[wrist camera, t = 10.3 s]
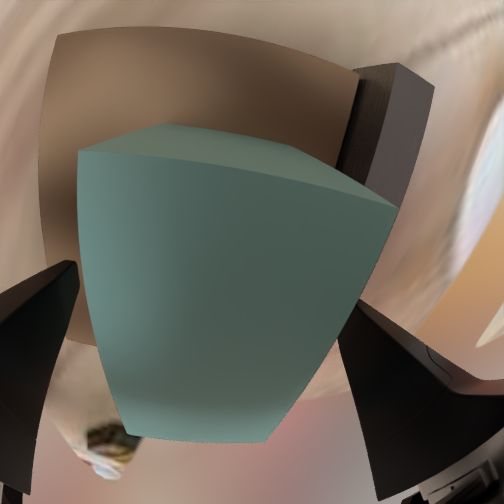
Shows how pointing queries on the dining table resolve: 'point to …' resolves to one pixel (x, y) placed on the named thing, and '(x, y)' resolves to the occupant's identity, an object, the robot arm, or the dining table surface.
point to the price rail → (385, 130)
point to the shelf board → (174, 109)
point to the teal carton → (218, 275)
